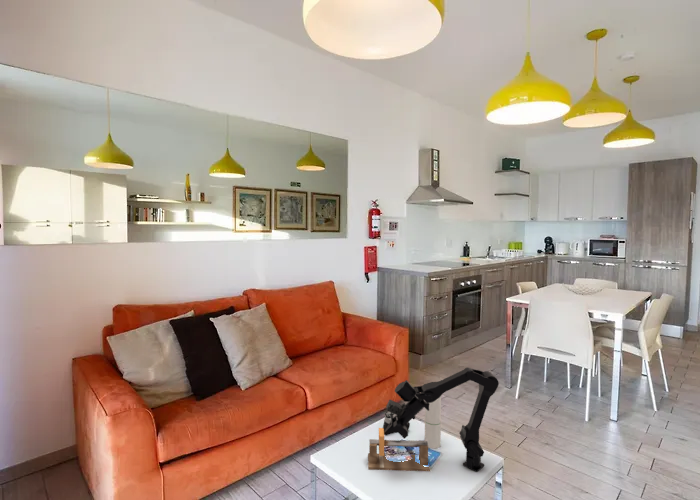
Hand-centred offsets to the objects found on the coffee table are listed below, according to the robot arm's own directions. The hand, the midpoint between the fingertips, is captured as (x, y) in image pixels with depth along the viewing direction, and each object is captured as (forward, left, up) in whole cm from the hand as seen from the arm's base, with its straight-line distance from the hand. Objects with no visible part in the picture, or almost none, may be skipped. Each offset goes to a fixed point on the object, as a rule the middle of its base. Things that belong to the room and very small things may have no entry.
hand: (384, 434), depth 160 cm
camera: (-25, -14, -13) cm, 31 cm away
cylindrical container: (-27, +5, -12) cm, 30 cm away
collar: (+1, -1, -7) cm, 7 cm away
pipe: (-4, +4, -5) cm, 8 cm away
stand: (-4, +4, -12) cm, 13 cm away
